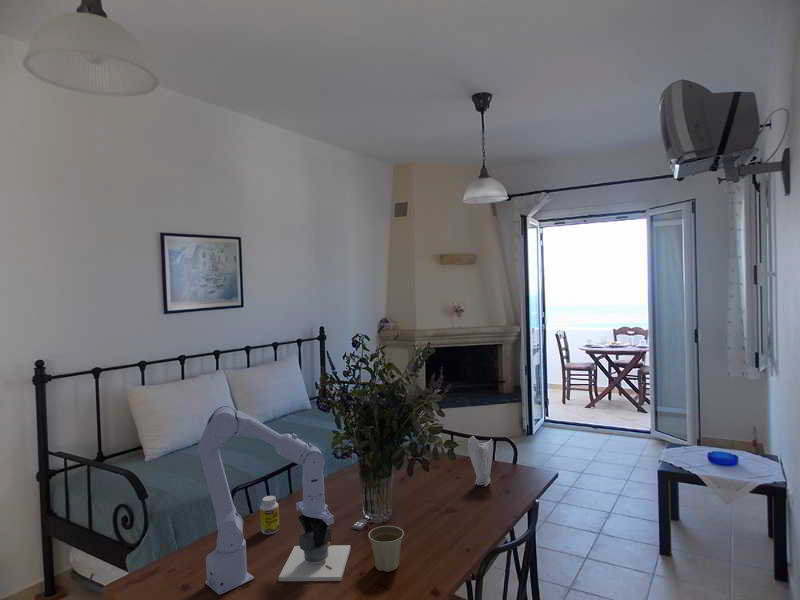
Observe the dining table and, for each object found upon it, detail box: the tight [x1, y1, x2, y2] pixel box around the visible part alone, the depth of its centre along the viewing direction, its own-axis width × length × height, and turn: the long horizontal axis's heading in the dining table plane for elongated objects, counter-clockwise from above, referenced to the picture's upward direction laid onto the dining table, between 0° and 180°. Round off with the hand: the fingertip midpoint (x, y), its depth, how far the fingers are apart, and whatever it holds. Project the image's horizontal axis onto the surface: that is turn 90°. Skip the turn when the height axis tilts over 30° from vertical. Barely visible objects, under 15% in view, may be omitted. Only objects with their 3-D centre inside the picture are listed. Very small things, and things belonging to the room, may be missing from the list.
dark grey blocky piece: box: [299, 526, 332, 562], centre depth 138 cm, size 8×6×6 cm
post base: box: [278, 544, 352, 582], centre depth 138 cm, size 16×16×2 cm
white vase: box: [467, 435, 494, 487], centre depth 189 cm, size 8×8×18 cm
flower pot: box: [367, 525, 405, 572], centre depth 135 cm, size 9×9×9 cm
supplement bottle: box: [259, 495, 280, 535], centre depth 158 cm, size 6×6×10 cm
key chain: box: [351, 518, 369, 531], centre depth 163 cm, size 13×4×2 cm, turn 155°
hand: (315, 543), depth 137 cm, fingers closed on dark grey blocky piece, 3 cm apart
